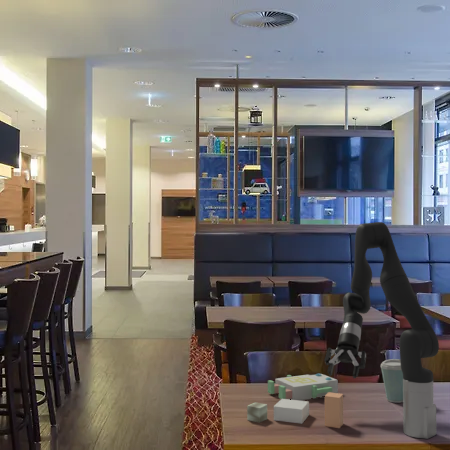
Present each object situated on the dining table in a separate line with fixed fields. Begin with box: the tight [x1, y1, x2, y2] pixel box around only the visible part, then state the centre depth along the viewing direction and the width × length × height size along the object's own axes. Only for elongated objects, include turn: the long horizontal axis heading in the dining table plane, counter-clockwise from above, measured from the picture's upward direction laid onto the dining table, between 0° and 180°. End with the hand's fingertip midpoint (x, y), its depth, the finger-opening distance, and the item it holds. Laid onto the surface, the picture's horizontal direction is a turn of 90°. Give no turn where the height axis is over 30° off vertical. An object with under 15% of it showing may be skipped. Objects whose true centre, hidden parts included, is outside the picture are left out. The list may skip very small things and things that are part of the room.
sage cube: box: [246, 402, 268, 423], centre depth 199 cm, size 5×5×5 cm
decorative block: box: [267, 373, 339, 401], centre depth 231 cm, size 26×6×20 cm
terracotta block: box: [324, 392, 344, 429], centre depth 193 cm, size 5×5×10 cm
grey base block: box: [273, 399, 310, 425], centre depth 201 cm, size 10×10×5 cm
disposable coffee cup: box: [380, 358, 403, 404], centre depth 221 cm, size 11×11×15 cm
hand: (342, 375), depth 203 cm, fingers open, 8 cm apart
